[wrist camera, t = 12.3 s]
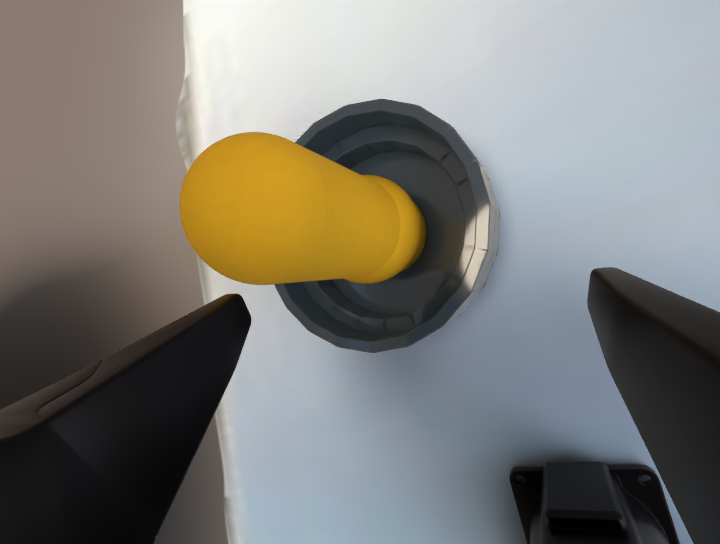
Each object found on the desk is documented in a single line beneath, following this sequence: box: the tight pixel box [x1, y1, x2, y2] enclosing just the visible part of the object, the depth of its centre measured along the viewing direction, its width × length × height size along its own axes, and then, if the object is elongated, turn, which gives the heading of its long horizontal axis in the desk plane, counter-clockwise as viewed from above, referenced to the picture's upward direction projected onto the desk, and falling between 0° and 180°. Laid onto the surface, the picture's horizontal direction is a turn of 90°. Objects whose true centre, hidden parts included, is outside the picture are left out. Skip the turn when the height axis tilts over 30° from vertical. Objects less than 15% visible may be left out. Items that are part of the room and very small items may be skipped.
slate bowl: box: [274, 99, 500, 353], centre depth 20 cm, size 13×13×4 cm
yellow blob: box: [180, 132, 426, 285], centre depth 16 cm, size 6×6×14 cm
